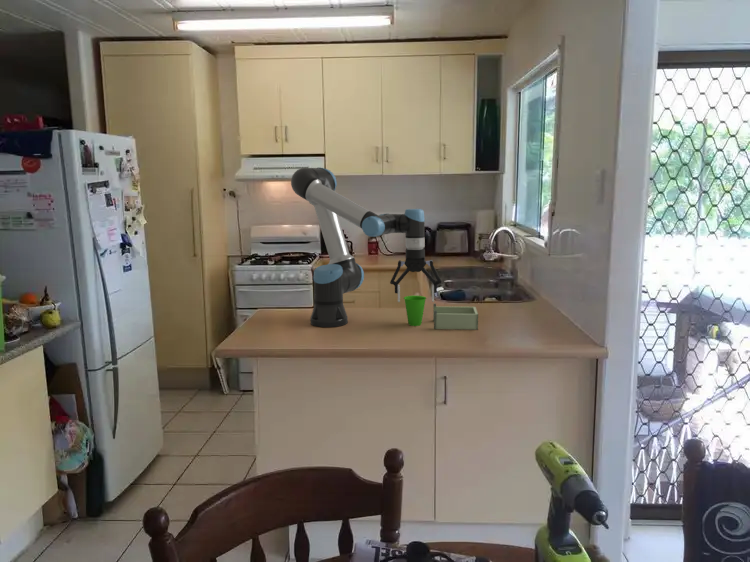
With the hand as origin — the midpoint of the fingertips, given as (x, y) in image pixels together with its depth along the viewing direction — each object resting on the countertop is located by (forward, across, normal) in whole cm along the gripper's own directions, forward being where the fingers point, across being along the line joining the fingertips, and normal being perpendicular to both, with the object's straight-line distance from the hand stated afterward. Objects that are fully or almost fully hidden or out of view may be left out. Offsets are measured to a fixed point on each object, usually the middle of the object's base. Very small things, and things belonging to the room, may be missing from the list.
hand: (415, 301), depth 235 cm
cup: (+10, -1, 0) cm, 10 cm away
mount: (+10, +15, 0) cm, 18 cm away
